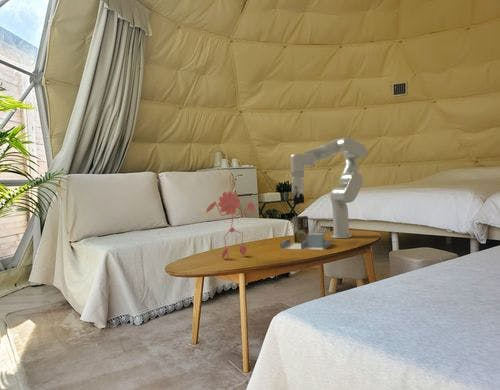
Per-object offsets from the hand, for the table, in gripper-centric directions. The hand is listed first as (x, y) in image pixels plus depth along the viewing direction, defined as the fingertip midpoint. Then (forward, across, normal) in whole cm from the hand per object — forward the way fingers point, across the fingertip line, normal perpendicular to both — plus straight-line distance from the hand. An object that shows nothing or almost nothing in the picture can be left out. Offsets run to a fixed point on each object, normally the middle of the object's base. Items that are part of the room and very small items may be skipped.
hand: (299, 203), depth 236 cm
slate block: (+23, +14, +13) cm, 30 cm away
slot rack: (+24, +14, +8) cm, 29 cm away
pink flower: (+25, +40, -26) cm, 54 cm away
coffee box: (+24, -1, 0) cm, 24 cm away
